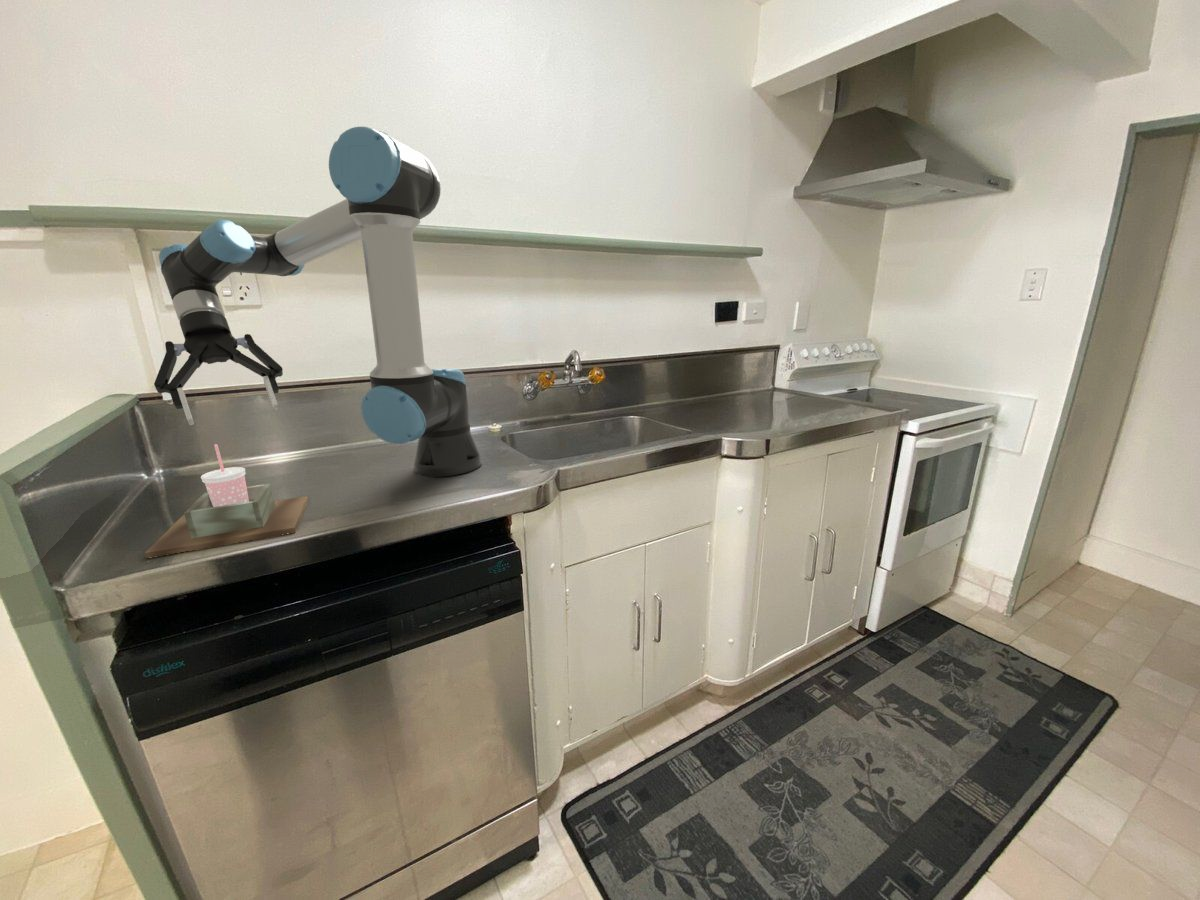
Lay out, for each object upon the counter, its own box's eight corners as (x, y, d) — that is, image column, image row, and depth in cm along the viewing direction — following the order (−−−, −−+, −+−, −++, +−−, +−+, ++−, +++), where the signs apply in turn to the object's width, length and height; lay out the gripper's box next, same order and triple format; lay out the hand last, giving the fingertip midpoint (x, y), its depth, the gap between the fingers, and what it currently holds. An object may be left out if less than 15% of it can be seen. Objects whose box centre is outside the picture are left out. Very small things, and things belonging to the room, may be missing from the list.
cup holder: (308, 500, 96) (302, 474, 95) (295, 532, 82) (288, 502, 81) (184, 520, 89) (176, 492, 88) (146, 559, 75) (135, 526, 73)
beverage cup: (221, 517, 87) (200, 442, 83) (261, 511, 89) (242, 437, 85) (208, 531, 82) (186, 451, 78) (251, 524, 84) (231, 446, 80)
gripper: (275, 323, 108) (306, 409, 105) (124, 336, 93) (155, 436, 90) (274, 304, 102) (307, 394, 99) (112, 314, 87) (145, 420, 84)
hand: (235, 414), depth 94 cm, fingers open, 13 cm apart
